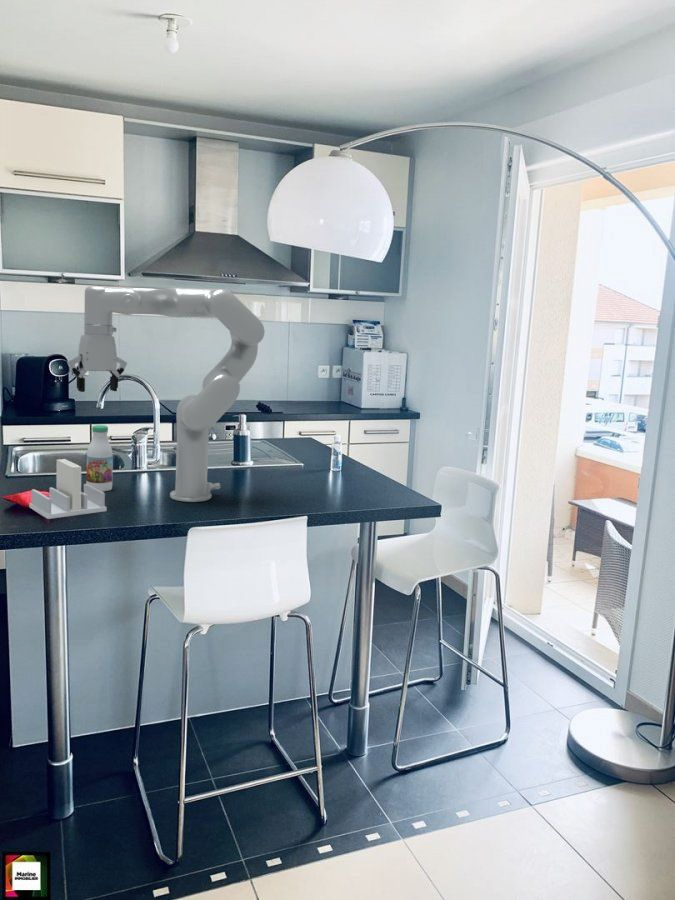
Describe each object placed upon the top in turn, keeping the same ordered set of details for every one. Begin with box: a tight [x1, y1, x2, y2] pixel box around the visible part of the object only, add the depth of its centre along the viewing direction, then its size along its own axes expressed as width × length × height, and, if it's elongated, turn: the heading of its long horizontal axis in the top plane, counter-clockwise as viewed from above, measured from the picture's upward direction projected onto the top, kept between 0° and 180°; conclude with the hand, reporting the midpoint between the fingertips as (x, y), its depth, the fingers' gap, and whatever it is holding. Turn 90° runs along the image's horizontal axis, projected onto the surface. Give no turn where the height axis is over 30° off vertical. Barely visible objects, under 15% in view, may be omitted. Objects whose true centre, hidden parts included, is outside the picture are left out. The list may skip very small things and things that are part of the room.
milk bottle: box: [85, 424, 114, 492], centre depth 230 cm, size 8×8×20 cm
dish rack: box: [28, 483, 108, 520], centre depth 208 cm, size 17×13×5 cm
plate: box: [56, 458, 82, 510], centre depth 207 cm, size 2×11×12 cm, turn 42°
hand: (97, 391), depth 214 cm, fingers open, 9 cm apart
